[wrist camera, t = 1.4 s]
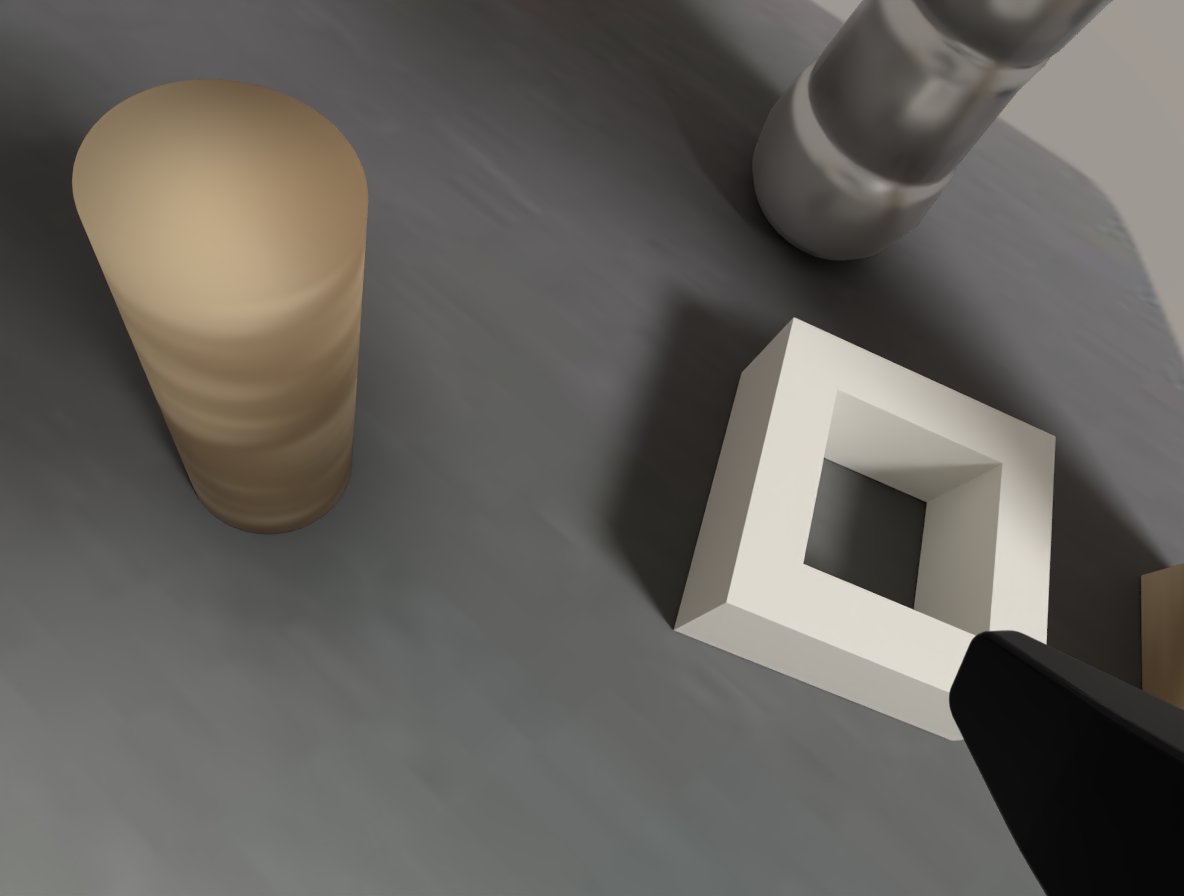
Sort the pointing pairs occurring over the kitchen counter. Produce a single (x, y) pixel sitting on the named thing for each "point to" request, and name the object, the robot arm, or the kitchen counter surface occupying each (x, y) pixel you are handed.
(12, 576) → the kitchen counter surface
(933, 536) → the socket
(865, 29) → the plastic bottle
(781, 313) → the kitchen counter surface
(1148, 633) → the tall textured pillar
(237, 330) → the peg
